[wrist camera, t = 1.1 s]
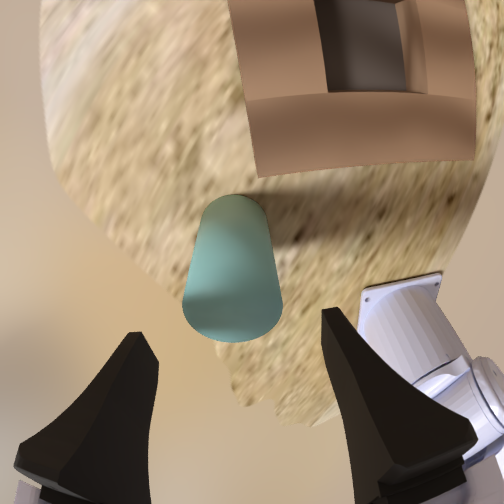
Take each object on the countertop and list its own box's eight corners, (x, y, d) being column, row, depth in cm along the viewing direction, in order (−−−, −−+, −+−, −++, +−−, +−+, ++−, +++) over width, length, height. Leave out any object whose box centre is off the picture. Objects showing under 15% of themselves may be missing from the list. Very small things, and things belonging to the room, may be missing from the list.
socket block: (448, 147, 17) (474, 160, 14) (255, 163, 18) (258, 178, 15) (428, -32, 10) (452, -41, 7) (218, -46, 10) (215, -67, 8)
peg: (271, 249, 21) (286, 335, 14) (208, 258, 21) (197, 346, 14) (262, 189, 18) (277, 261, 12) (193, 201, 19) (169, 276, 12)
